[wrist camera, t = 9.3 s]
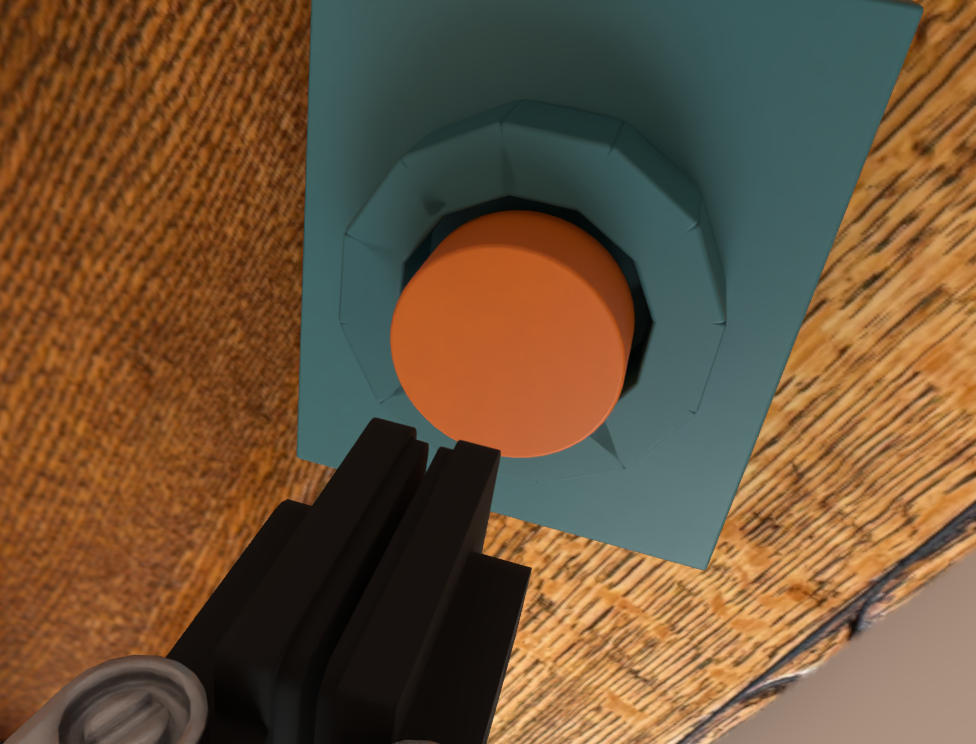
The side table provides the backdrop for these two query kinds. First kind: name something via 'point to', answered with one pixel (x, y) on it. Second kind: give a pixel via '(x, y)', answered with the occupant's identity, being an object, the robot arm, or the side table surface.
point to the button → (515, 334)
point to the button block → (593, 215)
